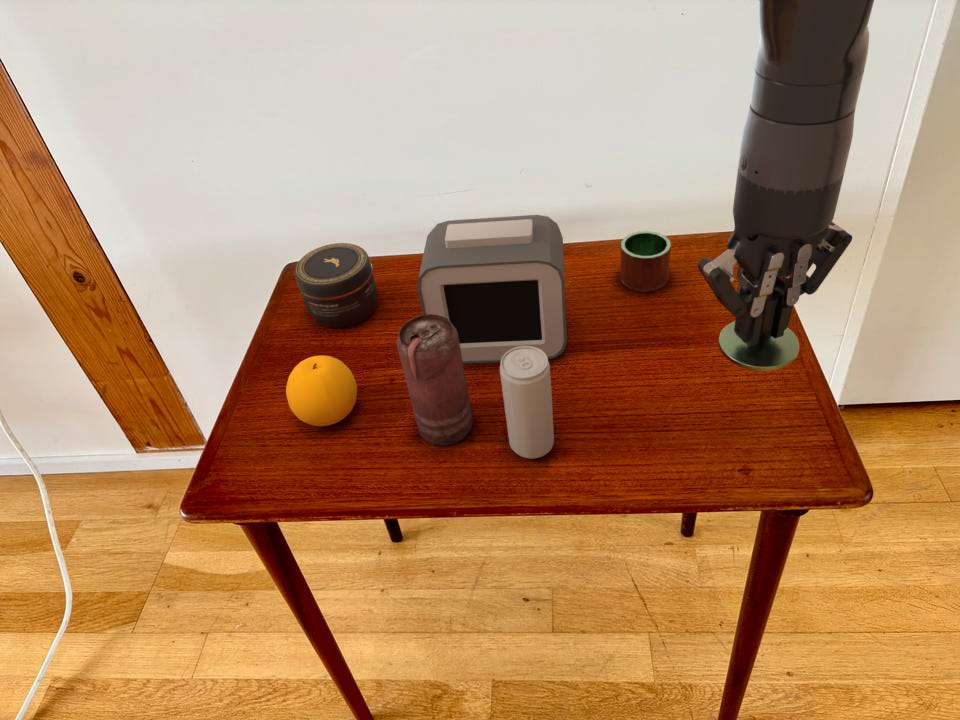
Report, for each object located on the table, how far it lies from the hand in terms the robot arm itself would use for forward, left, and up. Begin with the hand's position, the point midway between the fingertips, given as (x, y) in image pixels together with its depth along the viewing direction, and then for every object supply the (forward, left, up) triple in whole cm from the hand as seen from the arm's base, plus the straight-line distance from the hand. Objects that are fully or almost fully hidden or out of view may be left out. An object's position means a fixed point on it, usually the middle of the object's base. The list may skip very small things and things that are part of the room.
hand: (760, 335), depth 65 cm
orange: (+41, -21, -13) cm, 48 cm away
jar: (+36, -40, -13) cm, 55 cm away
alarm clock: (+18, -26, -13) cm, 34 cm away
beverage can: (+21, -7, -13) cm, 25 cm away
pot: (-3, -28, -13) cm, 31 cm away
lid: (0, 0, -1) cm, 1 cm away
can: (+29, -13, -13) cm, 34 cm away
